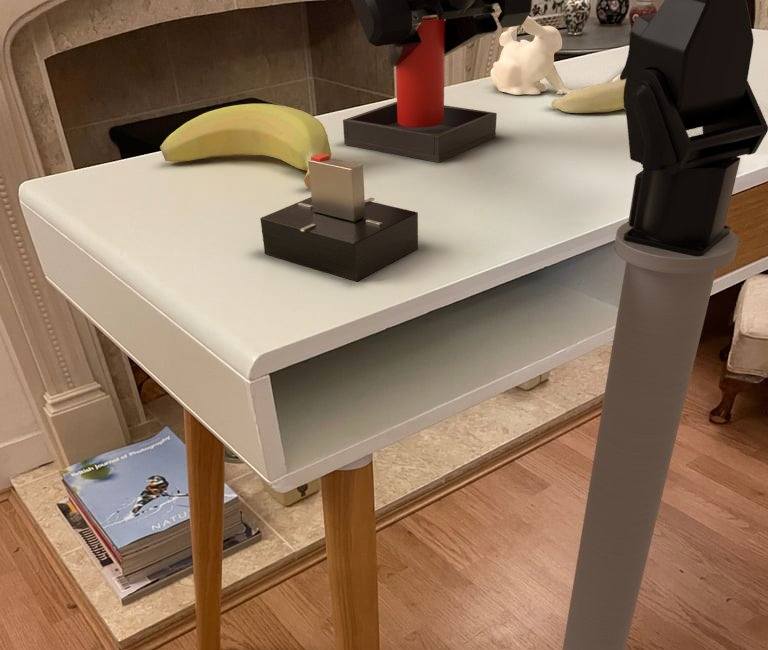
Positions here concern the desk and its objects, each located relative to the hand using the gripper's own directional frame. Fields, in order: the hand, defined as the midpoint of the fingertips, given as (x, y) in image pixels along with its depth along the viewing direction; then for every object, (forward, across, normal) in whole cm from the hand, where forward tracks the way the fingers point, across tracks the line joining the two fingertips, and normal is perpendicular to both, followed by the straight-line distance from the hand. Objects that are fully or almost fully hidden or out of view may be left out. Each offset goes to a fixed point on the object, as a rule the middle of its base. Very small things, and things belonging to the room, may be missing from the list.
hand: (413, 59), depth 87 cm
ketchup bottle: (+3, 0, +5) cm, 6 cm away
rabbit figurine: (+13, -24, -1) cm, 27 cm away
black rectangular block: (-12, +23, +24) cm, 35 cm away
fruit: (+4, -28, +7) cm, 29 cm away
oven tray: (+5, 0, +6) cm, 8 cm away
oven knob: (-14, +23, +22) cm, 34 cm away
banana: (+6, +20, +6) cm, 21 cm away
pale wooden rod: (+11, -38, +1) cm, 39 cm away
